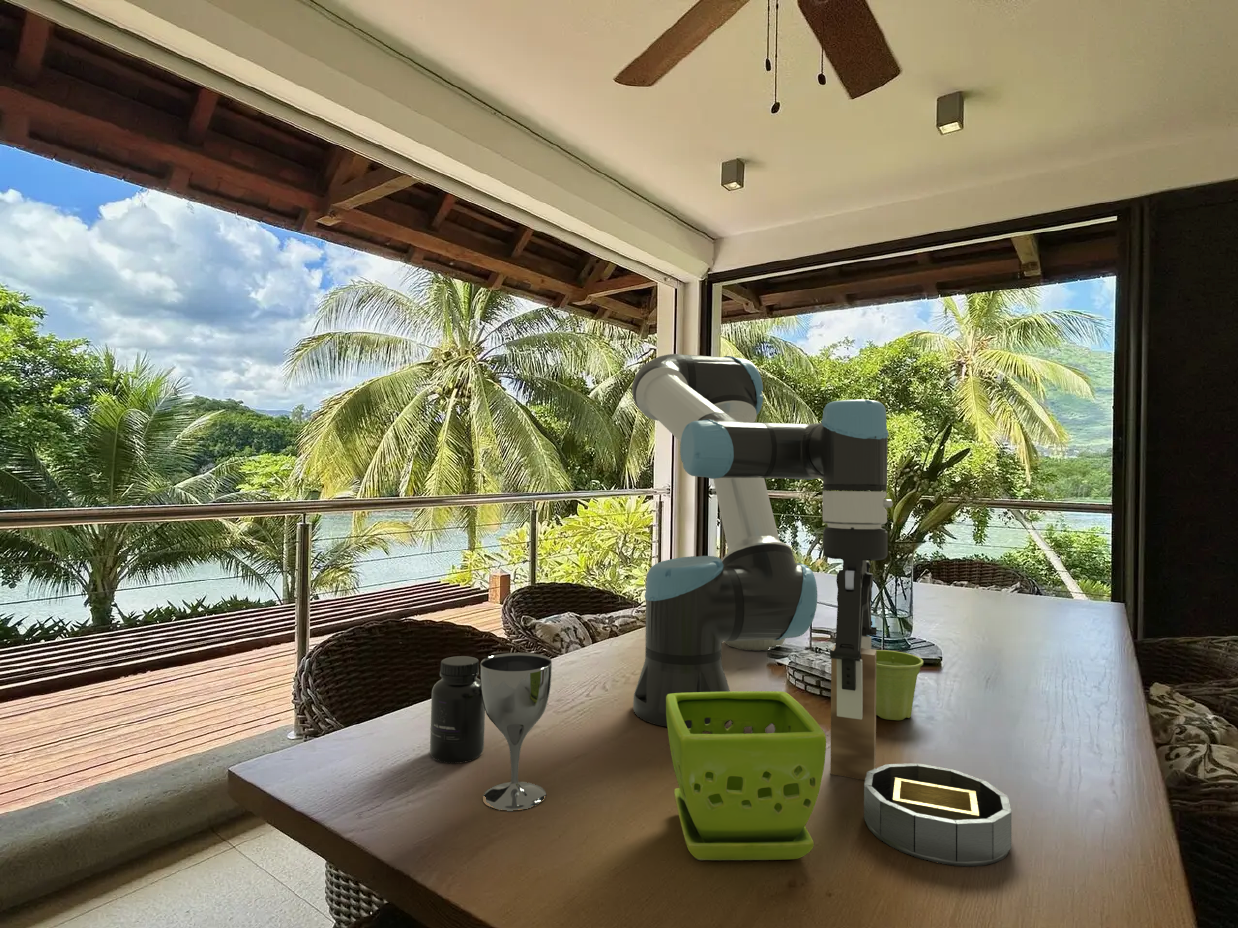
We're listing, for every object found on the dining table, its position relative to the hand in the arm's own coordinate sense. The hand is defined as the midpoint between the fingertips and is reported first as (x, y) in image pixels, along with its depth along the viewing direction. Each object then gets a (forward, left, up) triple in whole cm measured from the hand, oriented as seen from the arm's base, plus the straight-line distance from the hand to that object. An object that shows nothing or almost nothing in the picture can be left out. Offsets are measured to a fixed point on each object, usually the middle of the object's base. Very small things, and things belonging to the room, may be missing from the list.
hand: (855, 700), depth 85 cm
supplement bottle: (-47, -16, -9) cm, 51 cm away
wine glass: (-34, -23, -9) cm, 42 cm away
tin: (+9, -11, -9) cm, 16 cm away
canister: (-26, +59, -9) cm, 65 cm away
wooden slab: (0, 0, -9) cm, 9 cm away
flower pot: (-9, -21, -9) cm, 24 cm away
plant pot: (+3, +25, -9) cm, 27 cm away
